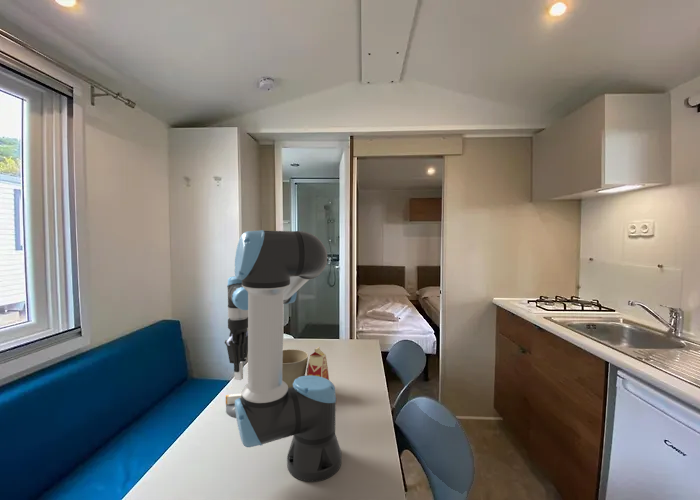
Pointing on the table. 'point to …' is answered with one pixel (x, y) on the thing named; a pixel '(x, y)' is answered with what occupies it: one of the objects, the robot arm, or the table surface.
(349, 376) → the table surface
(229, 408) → the dial base
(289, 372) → the plant pot
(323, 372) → the milk carton
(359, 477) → the table surface
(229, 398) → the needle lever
